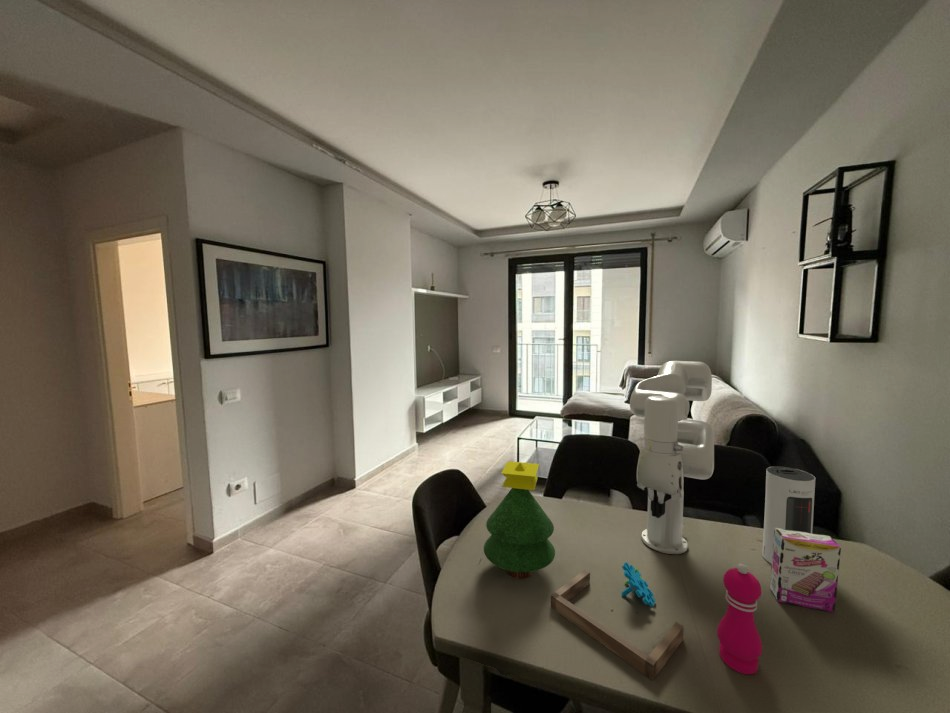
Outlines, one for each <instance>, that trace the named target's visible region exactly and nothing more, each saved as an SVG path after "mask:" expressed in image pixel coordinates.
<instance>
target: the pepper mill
mask: <svg viewBox="0 0 950 713" xmlns="http://www.w3.org/2000/svg"><path fill="white" fill-rule="evenodd" d="M722 581H723V585H724V588H725V600H726V601H727V609H726V612H725V614H724V616H723V617H722V618H721V620H719V623H718V626H717V630H716V635H717V639H718V641H719V646H718V647H719V649H718V654H719V657H720V659H721V660H722V661H723V663H724V664H726V665H727V666H728V667H729V668H730V669H732V670H733V671H735V672H737V673H740V674H743V675H753V674H756V673H757V672H758V669H759V658H760V657H761V656H762V654H763V643H762V639H761V636H760V633H759V631H758V628H757V626H756V624H755V615H754V613H755V611H757V610H758V600H759V599H760V597H761V596H762V586H761V583H760V581H759V580H758V578H757V577H756V576H755V575H754V574H752V573H751V572H749V568H748V566H747V565H746V564H744V563H739V564H737V566H736V568H735V567H733V568H729V569H728V570H726V571H725V573H724V574H723V580H722Z"/></svg>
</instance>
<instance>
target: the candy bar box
mask: <svg viewBox="0 0 950 713" xmlns="http://www.w3.org/2000/svg"><path fill="white" fill-rule="evenodd" d="M841 553H842V546H841V545H840V544H839V543H837V541H835V540H834V539H833V538H832V537H831V536H830V535H825V534H820V533H819V534H818V533H814V532H812V533H806V532H799V531H792V530H786V529H779V528H775V530H774V542H773V554H772V564H771V568H770V571H771V572H770V579H769V580H770V583H769V590H770V591H771V593H772V595H773V596H774V598H775V600H776V601H777V602H778V603H784V604H790V605H793V606H794V605H795V606H799V607H804V608H809V609H815V610H817V611H818V610H819V611H825V612H828V613H835V611H836V601H837V592H838V591H837V590H838V583H839V582H838V581H839V580H838V579H839V571H840V562H841V561H840V560H841Z"/></svg>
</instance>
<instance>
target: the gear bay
mask: <svg viewBox="0 0 950 713" xmlns="http://www.w3.org/2000/svg"><path fill="white" fill-rule="evenodd" d="M590 580H591V572H589V571H588V570H587V569H584V570H583V571H581V572H580V573H579V574H577V575H575V577H573V578H572V579H570V580H569V581H567V582H566V583H565V584H564V585H562V586H561V587H560V588H558V589H557V590H556V591H554V592H553V593H552V594H550V608H551V609H553V610H554V611H555V612H557V613H559V614H560V615H561V616H563V617H564V618H565V619H567V620H568V621H570V622H571V623H572V624H573V625H575V626H576V627H578V628H579V629H580V630H582V631H583V632H584V633H586V634H587V635H589V636H590V637H592V638H593V639H595V640H596V641H597V642H598V643H600V644H601V645H603V646H604V647H605V648H606V649H608V650H610V651H611V652H613V653H614V654H615V655H617V656H618V657H620V658H621V659H622V660H624V662H626V663H628V664H629V665H630V666H632V667H634V668H635V669H636V670H638V671H639V672H640V673H642V674H643V675H644V676H646V677H647V678H648V679H650V680H652V681H654V680H655V678H656V677H657V676H658V674H659V673H660V672H661V670H662V669H663V668H664V666H665V665H666V664H667V662H668V661H669V660H670V658H671V657H672V655H673V654H674V653H675V651H676V650H677V649H678V647H679V645H680V644H681V643H682V642H683V640H684V629H685V628H684V625H683V624H680V623H679V622H675V623H674V624H673V625H672V627H671V628H670V629H669V630H668V631H667V633H666V634H665V635H664V636H663V638H662V639H661V640H660V641H659V642H658V644H657V645H656V646H655V648H653V650H652V651H651V652H650V654H647V653H646V652H644V651H643V650H642V649H640V648H639V647H637V646H636V645H634V644H632V643H631V642H629V641H628V640H626V638H624V637H622V636H621V635H619V634H618V633H616V632H615V631H614V630H612V629H610V628H609V627H607V626H606V625H604V624H603V623H601V622H600V621H599V620H597V619H595V618H594V617H592V616H591V615H589V614H588V613H586V611H583V610H582V609H581V608H580V607H578V606H577V605H575V604H573V603H572V602H570V600H572V599H573V598H574V597H575V596H576V595H577V594H579V593H580V592H581V591H583V589H585V588H586V587H587V586H589V585H590V584H591V581H590Z"/></svg>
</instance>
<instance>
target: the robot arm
mask: <svg viewBox="0 0 950 713" xmlns="http://www.w3.org/2000/svg"><path fill="white" fill-rule="evenodd" d="M712 376H713V375H712V371H711V368H710V367H709V365H708V364H707V363H705V362H703V361H693V360H692V361H689V360H688V361H687V360H685V361H684V360H670V361H666V362H664V363H663V364H661V366H660V368H659V370H658V373H657V375H656V376H653V377H649V378H646V379H644V380H641V381H639V382H638V383H636V385H635V386H634V388H633V390H632V392H631V395H630V398H629V409H630V411H631V413H632V414H633V415H634V416H635V417H638V418H644V423H643V424H644V425H643V426H644V427H643V446H641V447H640V452H639V455H638V460H637V466H636V482H637V484H636V486H637V488H639V489H640V490H642V491H644V493H646V494H647V516H646V517H647V521H646V528H645V529H644V530H642V532H641V540H642V542H643V543H644V544H645V545H646V546H647V547H649V548H650V549H652V550H654V551H657V552H660V553H661V554H662V553H663V554H667V555H668V554H669V555H680V554H684V553H685V552H687V550H688V541H687V540H686V539H685V538H684V537H683V529H684V527H685V524H684V522H683V520H684V519H683V517H684V514H683V513H684V498H685V497H684V496H685V495H684V493H685V492H684V478H685V477H686V478H689V479H690V478H691V479H696V480H708V479H710V478H711V477H712V475H713V473H714V470H715V434H714V430H713V427H712V425H710V424H709V422H706V421H702V420H696V419H688V415H689V412H690V408H691V407H690V401H693V402H705V401H708V400H709V399H710V398H711V396H712V390H713V388H712V386H713V384H712V382H713V377H712Z"/></svg>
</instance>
